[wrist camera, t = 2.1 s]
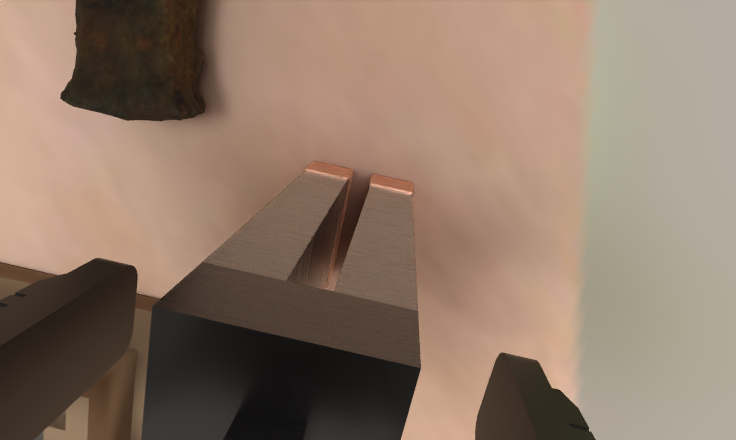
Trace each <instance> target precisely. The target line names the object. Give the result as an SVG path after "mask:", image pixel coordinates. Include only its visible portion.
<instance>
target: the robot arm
mask: <svg viewBox="0 0 736 440" xmlns="http://www.w3.org/2000/svg"><path fill="white" fill-rule="evenodd" d="M137 277H138V276H137V270H136V268H135V267H134V266H132V265H127V264H123V263H119V262H115V261H110V260H106V259H102V258H96V259H93V260H91V261H90V262H88V263H86V264H84V265H82V266H80V267H78V268H77V269H75V270H73V271H71V272H69V273H67V274H62V275H59V276H55V277H51V278H47V279H43V280H39V281H36V282H35V283H33V284H31V285H29V286H27V287H25V288H23V289H21V290H19V291H17V292H15V295H9V296H7V297H5V298H3V299H1V300H0V440H34V439H35V438H36V437H37V436H38V435H39V434H41V433H42V432H43V431H44V430H45V429H46V428H47V427H48V426H49V425H50V424H51V423H52V422H53V421H54V420H55V419H57V418H58V417H59V416H60V415H61V414H62V413H63V412H64V411H65V410H66V409H67V408H68V407H69V406H70V405H71V404H73V403H74V402H75V401H76V400H77V399H78V398H79V397H80V396H81V395H82V394H83V393H84V392H85V391H86V390H87V389H89V388H90V387H91V386H92V385H93V384H94V383H95V382H96V381H97V380H98V379H99V378H100V377H101V376H102V375H103V374H105V373H106V372H107V371H108V370H109V369H110V368H111V367H112V366H113V365H114V364H115V363H116V362H117V361H118V360H119V359H120V358H121V357H122V356H123V355H124V353H125V351H126V350H127V348H128V346H129V343H130V341H131V338H132V334H133V327H134V315H135V303H136V291H137ZM475 440H595V438H594V436H593V434H592V433H591V432H589V427H588V425H587V423H586V421H585V420H584V418H583V416H582V414H581V412H580V410H579V409H578V408H577V407H576V406H575V405H574V404H573V403H572V402H571V401H570V400H569V399H568V398H567V397H566V396H565V395H564V394H563V393H562V392H561V391H560V390H558V389H554V388H551V386H550V384H549V382H548V380H547V378H546V376H545V374H544V372H543V370H542V367H541V365H540V364H539V362H538V361H537V360H533V359H528V358H524V357H520V356H516V355H511V354H507V353H500V354H499V355H498V357H497V359H496V361H495V364H494V367H493V370H492V373H491V376H490V379H489V382H488V385H487V388H486V391H485V394H484V397H483V400H482V403H481V406H480V409H479V412H478V416H477V421H476V430H475Z"/></svg>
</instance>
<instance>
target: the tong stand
mask: <svg viewBox="0 0 736 440" xmlns="http://www.w3.org/2000/svg"><path fill="white" fill-rule="evenodd" d="M55 276H56V275H51V274H47V273H43V272H38V271H34V270H30V269H25V268H21V267H17V266H12V265H8V264H3V263H0V300H1V299H3V298H5V297H7V296H9V295H15V292H17V291H19V290H21V289H23V288H25V287H27V286H29V285H31V284H33V283H35V282H36V281H39V280H43V279H47V278H51V277H55ZM159 300H160V299H156V298H152V297H148V296H143V295H139V294H136V303H135V315H134V327H133V334H132V338H131V341H130V343H129V346H128V348H127V350H126V351H125V353H124V355H123V356H122V357H121V358H120V359H119V360H118V361H117V362H116V363H115V364H114V365H113V366H112V367H111V368H110V369H109V370H108V371H107V372H106V373H105V374H103V375H102V376H101V377H100V378H99V379H98V380H97V381H96V382H95V383H94V384H93V385H92V386H91V387H90V388H89V389H87V390H86V391H85V392H84V393H83V394H82V395H81V396H80V397H79V398H78V399H77V400H76V401H75V402H74V403H73V404H71V405H70V406H69V407H68V408H67V409H66V410H65V411H64V412H63V413H62V414H61V415H60V416H59V417H58V418H57V419H55V420H54V421H53V422H52V423H51V424H50V425H49V426H48V427H47V428H46V429H45V430H44V431H43V432H42V433H41V434H39V435H38V436H37V437H36V438H35V439H34V440H141V435H142V423H143V411H144V399H145V387H146V375H147V363H148V351H149V339H150V327H151V315H152V306H153V305H154V304H156V303H157V302H158V301H159Z"/></svg>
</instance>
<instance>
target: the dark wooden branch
mask: <svg viewBox="0 0 736 440" xmlns="http://www.w3.org/2000/svg"><path fill="white" fill-rule="evenodd" d="M197 4H198V0H76V12H75V16H76V24H77V28H76V32H75V33H74V34H75V36H76V38H75V42H76V48H77V55H76V63H75V69H74V71H73V76H72V79H71V80H70V81H69V83H68V84H67V86H66V88H65V90H64V91H62V93H61V97H60V99H62V100H63V101H65V102H66V103H68V104H69V105H72V106H74V107H78V108H82V109H86V110H91V111H95V112H99V113H103V114H107V115H111V116H114V117H118V118H121V119H124V120H127V121H128V120H151V121H164V120H182V119H187V118H193V117H195V116H197V115H199V114H201V113H204V112H205V103H204V101H203V99H202V97H201V96H200V94H199V93H198V91H197V90H196V89H195V81H196V79H197V77H198V75H199V73H200V71H201V69H202V66H203V58H202V53H201V52H200V50H199V49H198V47H197V37H196V35H197V10H198V6H197Z"/></svg>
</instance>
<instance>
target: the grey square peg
mask: <svg viewBox="0 0 736 440" xmlns="http://www.w3.org/2000/svg"><path fill="white" fill-rule="evenodd" d="M353 173H354V170H353V169H349V168H344V167H340V166H335V165H331V164H326V163H322V162H317V161H313V162H312V163H311V164H310V165H309V166H308V167H306V168H305V172H304V173H303V174H302V175H301V176H299V177H298V178H297V179H296V180H295V181H294V182H293V183H291V184H290V185H289V186H288V187H287V188H286V189H285V190H284V191H282V192H281V193H280V194H279V195H278V196H277V197H276V198H274V199H273V200H272V201H271V202H270V203H269V204H268V205H267V206H265V207H264V208H263V209H262V210H261V211H260V212H259V213H257V214H256V215H255V216H254V217H253V218H252V219H251V220H250V221H248V222H247V223H246V224H245V225H244V226H243V227H242V228H240V229H239V230H238V231H237V232H236V233H235V234H234V235H233V236H231V237H230V238H229V239H228V240H227V241H226V242H225V243H223V244H222V245H221V246H220V247H219V248H218V249H217V250H216V251H214V252H213V253H212V254H211V255H210V256H209V257H208V258H206V259H205V260H204V261H203V262H202V263H201V264H200V265H199V266H197V267H196V268H195V269H194V270H193V271H192V272H191V273H190V274H188V275H187V276H186V277H185V278H184V279H183V280H182V281H180V282H179V283H178V284H177V285H176V286H175V287H174V288H173V289H171V290H170V291H169V292H168V293H167V294H166V295H165V296H163V297H162V298H161V299H160V300H159V301H158V302H157V303H156V304H154V305H153V306H152V315H151V327H150V339H149V351H148V363H147V375H146V387H145V399H144V411H143V423H142V435H141V440H401V436H402V433H403V429H404V426H405V422H406V419H407V415H408V412H409V408H410V405H411V401H412V398H413V394H414V391H415V387H416V383H417V380H418V376H419V373H420V369H421V361H420V342H419V323H418V305H417V286H416V267H415V248H414V229H413V210H412V197H413V183H411V182H407V181H402V180H398V179H393V178H389V177H384V176H380V175H375V174H373V175H372V177H371V180H370V183H369V188H368V192H367V197H366V200H365V203H364V205H363V208H362V211H361V214H360V217H359V220H358V223H357V226H356V229H355V232H354V235H353V237H352V240H351V243H350V246H349V249H348V252H347V255H346V258H345V261H344V264H343V266H342V269H341V272H340V275H339V278H338V281H337V284H336V287H335V290H334V292H333V291H329V290H325V288H327V286H328V284H329V281H330V278H331V276H332V273H333V270H334V266H335V261H336V256H337V251H338V246H339V241H340V236H341V231H342V226H343V222H344V217H345V212H346V207H347V202H348V197H349V192H350V187H351V182H352V178H353Z"/></svg>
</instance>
